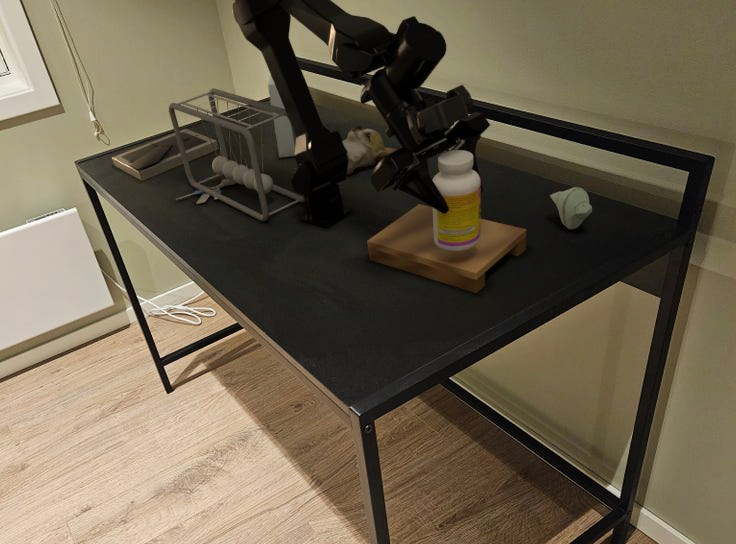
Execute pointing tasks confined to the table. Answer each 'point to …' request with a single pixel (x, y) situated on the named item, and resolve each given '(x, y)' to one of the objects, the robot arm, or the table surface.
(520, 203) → the table surface
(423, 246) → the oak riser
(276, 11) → the robot arm
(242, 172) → the newton's cradle
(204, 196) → the key chain
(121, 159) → the picture frame
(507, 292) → the table surface
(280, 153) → the skincare box
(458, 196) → the supplement bottle
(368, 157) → the ceramic sculpture
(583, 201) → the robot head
